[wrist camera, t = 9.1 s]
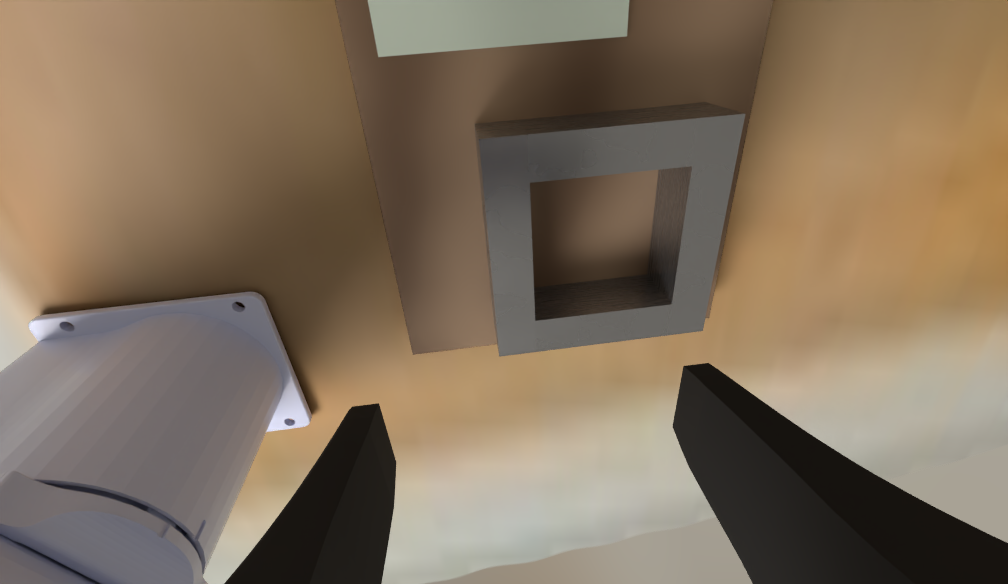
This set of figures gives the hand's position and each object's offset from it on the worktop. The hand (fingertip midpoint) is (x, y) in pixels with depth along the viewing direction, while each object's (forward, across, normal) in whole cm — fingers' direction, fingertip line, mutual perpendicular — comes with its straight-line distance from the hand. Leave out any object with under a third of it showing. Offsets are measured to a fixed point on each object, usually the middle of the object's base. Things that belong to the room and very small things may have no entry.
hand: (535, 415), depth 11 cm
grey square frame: (+9, -4, -1) cm, 10 cm away
